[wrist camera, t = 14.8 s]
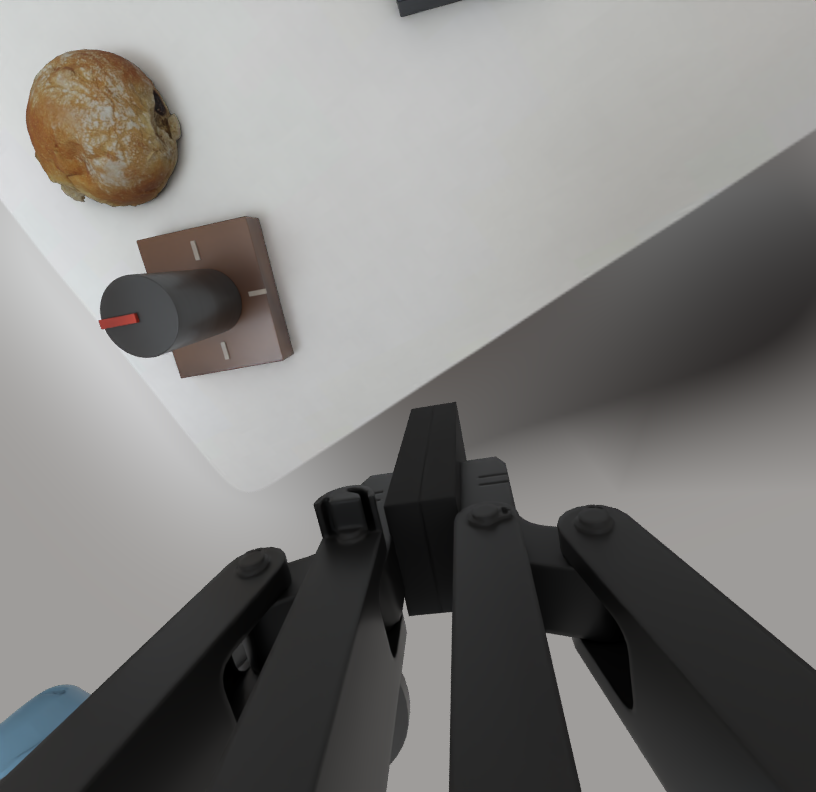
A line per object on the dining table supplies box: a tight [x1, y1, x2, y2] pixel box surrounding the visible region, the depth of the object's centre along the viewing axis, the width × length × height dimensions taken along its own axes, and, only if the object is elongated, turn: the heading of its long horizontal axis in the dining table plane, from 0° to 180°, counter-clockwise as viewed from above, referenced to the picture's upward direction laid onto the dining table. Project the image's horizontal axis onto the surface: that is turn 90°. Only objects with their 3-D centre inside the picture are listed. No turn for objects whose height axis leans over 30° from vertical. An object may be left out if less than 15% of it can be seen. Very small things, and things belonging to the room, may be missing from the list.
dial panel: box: [137, 216, 293, 378], centre depth 39 cm, size 11×9×3 cm
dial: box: [99, 269, 242, 358], centre depth 34 cm, size 5×5×9 cm
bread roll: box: [26, 49, 181, 207], centre depth 36 cm, size 10×10×8 cm
